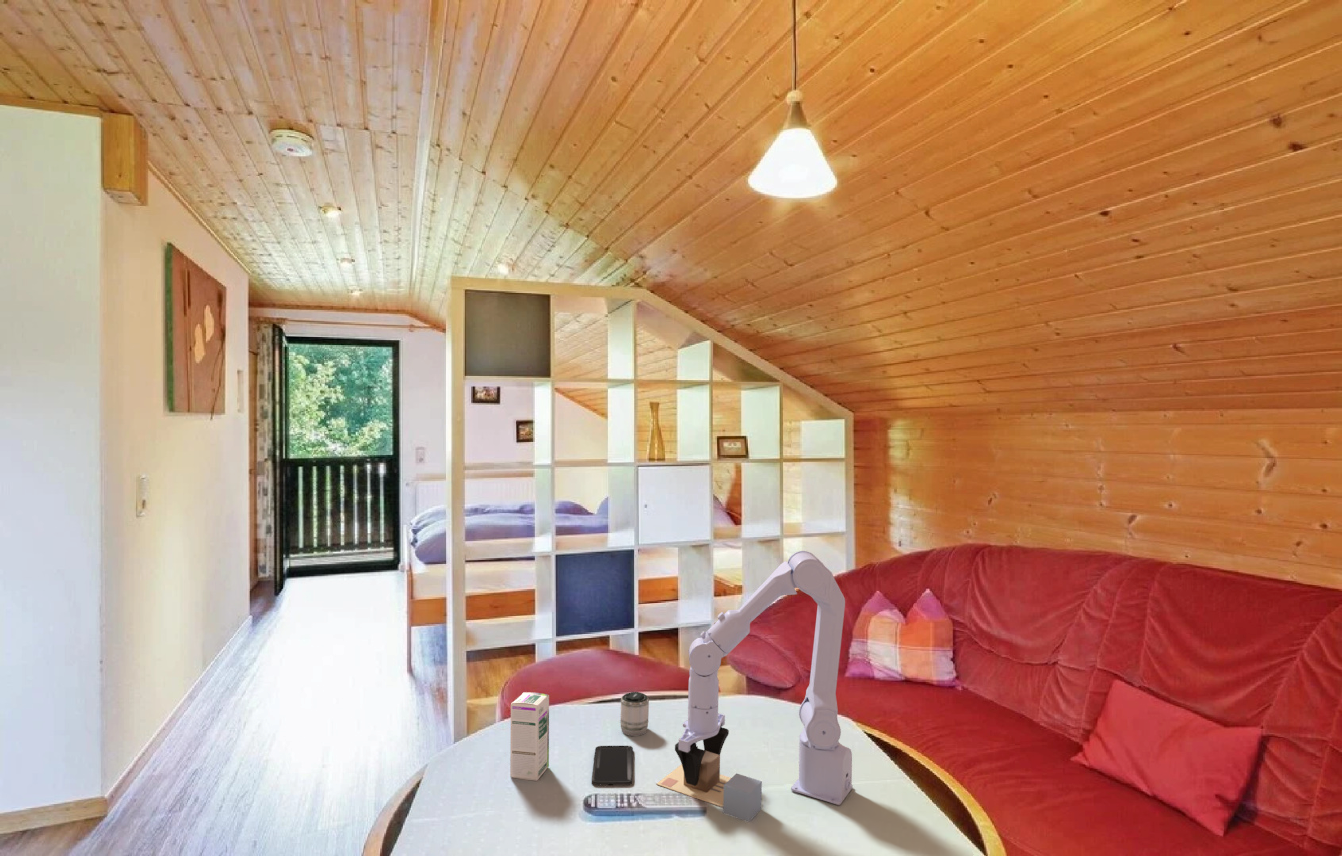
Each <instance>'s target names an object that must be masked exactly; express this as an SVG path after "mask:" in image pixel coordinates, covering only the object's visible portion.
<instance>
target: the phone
mask: <svg viewBox="0 0 1342 856" xmlns="http://www.w3.org/2000/svg"><path fill="white" fill-rule="evenodd" d="M633 758H634V748H633V746H632V745H598V746H596V747H595V749H594V756H593V765H592V773H591V785H592V786H594V787H629V786H632V785H633V782H634V781H633V779H634V778H633V777H634V774H633V773H634V770H633V769H634V767H633V765H634V762H633V760H634V759H633Z"/></svg>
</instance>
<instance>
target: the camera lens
mask: <svg viewBox="0 0 1342 856" xmlns="http://www.w3.org/2000/svg"><path fill="white" fill-rule="evenodd" d="M649 705H650V699H649V697H648V696H647V695H646V694H645V693H642V692H639V691H630V692H627V693H626V694H623V695H622V697H621V698H620V716H619V717H620V720H619V721H620V722H619V723H620V729H621V733H622V734H625V735H627V736H632V737H638V736H642V735H644V734H646V733H647V730H648V727H649V708H650V706H649Z"/></svg>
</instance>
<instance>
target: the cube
mask: <svg viewBox="0 0 1342 856" xmlns="http://www.w3.org/2000/svg"><path fill="white" fill-rule="evenodd" d="M730 778H731V779H730V780H729V781H728V782H727V783H726V784H724V801H723V807H722V810H723V811H722V813H723V814H724V815H727V816H730V817H733V818H737V819H739V820H742V821H744V822H747V823H750V822H751V821H752V820H753V819H754V818H755V817H756V815H757V814H758V813H759V812H760V811H761V810H762V797H763V795H762V790H763V789H762V787H763V786H762V785H763V781H762V780H759V779H756V778H752V777H750V776H746V775H743V774H740V773H735V774H734V775H733V776H732V777H730Z"/></svg>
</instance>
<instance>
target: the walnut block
mask: <svg viewBox="0 0 1342 856" xmlns="http://www.w3.org/2000/svg"><path fill="white" fill-rule="evenodd" d="M700 749H701V748H700ZM701 750H703V749H701ZM720 771H721V754H720V755H718V754H715V753H712V752H708V751H706V752H705V754H704V756H703V758H702V761H701V765H700V772H699V780H698V783H697V785H696V786H694V785H691V784H688V783H686V780H685V775H684V785H686V786H689V787H692V788H695V789H698V790H701V791H704V792H708V791H709V790H710V789H711V788H713V787H714V786H715V785H716V784H717V783H718V782H719V781H720V774H721V773H720Z"/></svg>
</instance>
